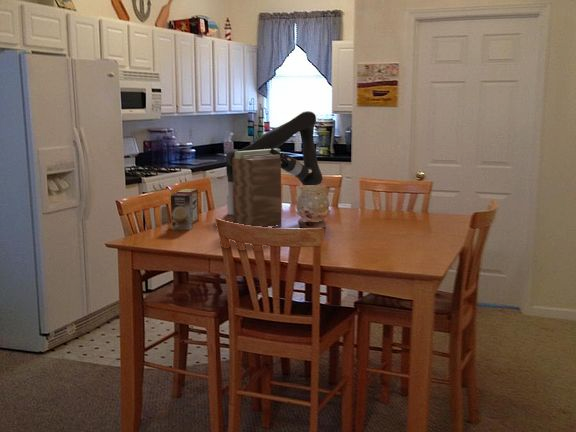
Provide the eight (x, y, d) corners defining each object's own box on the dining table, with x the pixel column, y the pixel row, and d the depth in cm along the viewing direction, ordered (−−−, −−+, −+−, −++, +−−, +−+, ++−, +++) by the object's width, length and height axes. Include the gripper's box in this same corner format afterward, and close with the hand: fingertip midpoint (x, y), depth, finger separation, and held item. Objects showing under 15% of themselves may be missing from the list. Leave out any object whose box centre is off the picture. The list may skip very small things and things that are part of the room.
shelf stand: (233, 225, 303) (232, 154, 297) (260, 220, 313) (259, 152, 307) (254, 230, 291) (253, 157, 285) (281, 225, 301) (280, 154, 295)
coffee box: (170, 229, 294) (169, 195, 291) (174, 227, 300) (173, 193, 297) (190, 230, 293) (189, 195, 290) (193, 227, 299) (192, 193, 296)
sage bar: (234, 158, 296) (234, 151, 295) (275, 154, 311) (275, 148, 310) (239, 158, 293) (239, 152, 292) (280, 155, 308) (280, 149, 307)
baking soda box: (190, 224, 306) (189, 191, 303) (178, 223, 308) (176, 190, 305) (198, 220, 315) (197, 188, 312) (186, 220, 317) (185, 188, 314)
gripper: (284, 157, 322) (261, 142, 311) (303, 159, 311) (279, 143, 300) (278, 170, 321) (255, 156, 310) (297, 173, 310) (273, 158, 299)
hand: (267, 150), depth 305 cm, fingers open, 5 cm apart
